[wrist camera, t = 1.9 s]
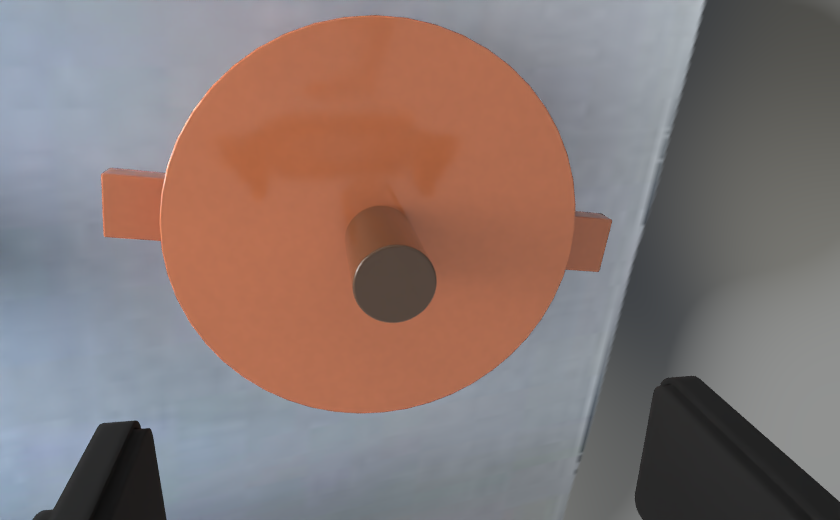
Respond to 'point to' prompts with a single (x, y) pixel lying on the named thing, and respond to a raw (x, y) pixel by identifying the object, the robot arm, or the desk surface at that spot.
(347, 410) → the pot lid
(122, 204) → the pot
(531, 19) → the desk surface
